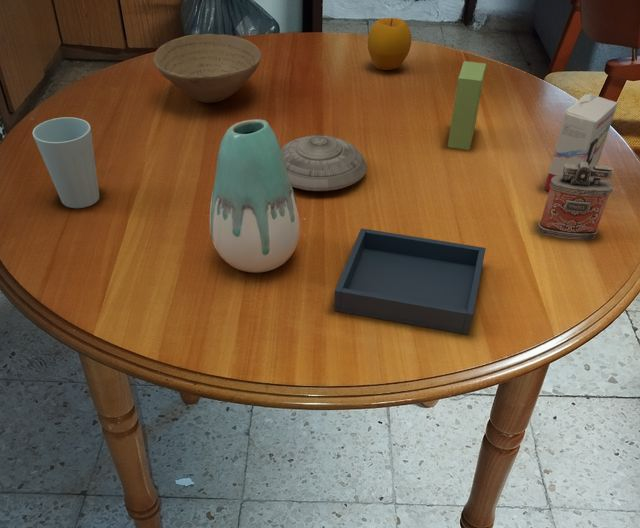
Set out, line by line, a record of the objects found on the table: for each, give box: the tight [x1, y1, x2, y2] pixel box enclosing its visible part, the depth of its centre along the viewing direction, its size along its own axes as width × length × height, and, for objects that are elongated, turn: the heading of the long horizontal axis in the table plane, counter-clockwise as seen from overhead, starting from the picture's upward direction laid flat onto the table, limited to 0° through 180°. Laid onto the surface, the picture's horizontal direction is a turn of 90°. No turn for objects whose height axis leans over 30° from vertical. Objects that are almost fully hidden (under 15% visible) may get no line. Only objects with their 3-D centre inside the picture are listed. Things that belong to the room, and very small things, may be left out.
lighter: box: [536, 161, 614, 240], centre depth 92 cm, size 8×3×10 cm, turn 80°
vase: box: [209, 118, 301, 274], centre depth 84 cm, size 12×12×18 cm
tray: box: [333, 227, 487, 336], centre depth 85 cm, size 17×14×3 cm
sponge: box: [447, 60, 487, 151], centre depth 110 cm, size 4×7×11 cm, turn 165°
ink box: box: [544, 93, 618, 192], centre depth 100 cm, size 9×5×12 cm, turn 143°
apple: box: [367, 17, 413, 71], centre depth 130 cm, size 8×8×9 cm
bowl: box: [153, 33, 262, 104], centre depth 121 cm, size 18×18×8 cm
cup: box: [32, 116, 100, 209], centre depth 96 cm, size 8×8×10 cm
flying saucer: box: [281, 134, 368, 192], centre depth 104 cm, size 15×15×6 cm
